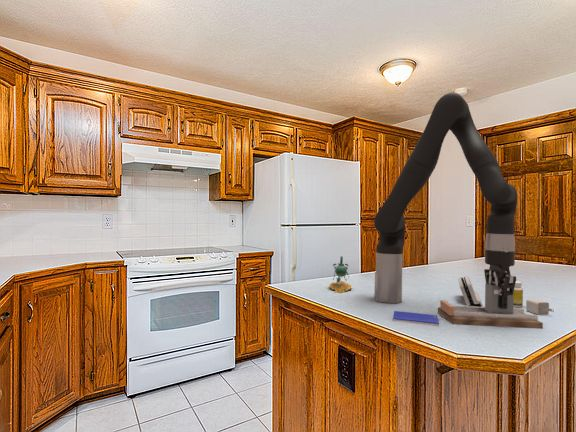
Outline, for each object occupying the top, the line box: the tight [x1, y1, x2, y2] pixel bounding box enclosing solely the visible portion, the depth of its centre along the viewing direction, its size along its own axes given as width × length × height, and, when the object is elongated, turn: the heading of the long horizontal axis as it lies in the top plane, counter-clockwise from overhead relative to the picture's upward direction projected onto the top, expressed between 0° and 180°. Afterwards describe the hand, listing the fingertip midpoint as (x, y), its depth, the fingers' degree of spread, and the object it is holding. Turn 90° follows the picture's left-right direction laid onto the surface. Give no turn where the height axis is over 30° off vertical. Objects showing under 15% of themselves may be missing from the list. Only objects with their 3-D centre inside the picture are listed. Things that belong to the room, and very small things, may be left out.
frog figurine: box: [328, 256, 353, 294], centre depth 140 cm, size 10×18×15 cm, turn 164°
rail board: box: [437, 299, 544, 329], centre depth 100 cm, size 24×12×4 cm, turn 84°
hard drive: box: [392, 310, 440, 327], centre depth 99 cm, size 2×8×12 cm
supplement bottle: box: [513, 280, 524, 308], centre depth 117 cm, size 5×5×8 cm
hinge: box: [457, 275, 484, 307], centre depth 123 cm, size 17×5×10 cm, turn 154°
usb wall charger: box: [525, 298, 554, 316], centre depth 107 cm, size 4×7×4 cm, turn 8°
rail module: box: [484, 283, 514, 314], centre depth 100 cm, size 6×4×9 cm
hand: (498, 306), depth 100 cm, fingers closed on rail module, 4 cm apart
